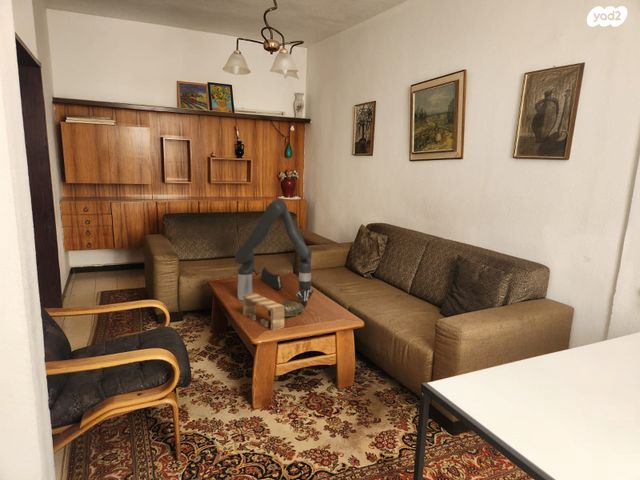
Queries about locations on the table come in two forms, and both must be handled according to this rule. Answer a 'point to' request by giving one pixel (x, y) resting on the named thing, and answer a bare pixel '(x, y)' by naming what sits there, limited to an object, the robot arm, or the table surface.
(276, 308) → the oak overhang
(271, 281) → the magazine
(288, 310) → the turtle shell
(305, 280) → the robot arm
